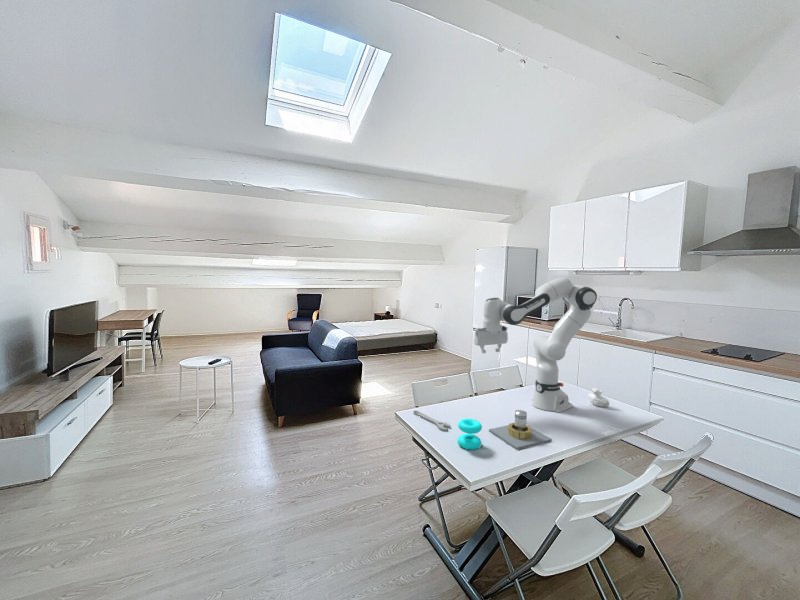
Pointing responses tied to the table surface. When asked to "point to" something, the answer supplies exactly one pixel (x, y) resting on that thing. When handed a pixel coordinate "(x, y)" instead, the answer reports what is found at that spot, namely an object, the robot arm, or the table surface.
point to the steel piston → (520, 420)
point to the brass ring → (519, 432)
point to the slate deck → (519, 443)
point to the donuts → (469, 434)
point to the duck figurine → (598, 398)
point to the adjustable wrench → (434, 421)
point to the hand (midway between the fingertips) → (490, 352)
